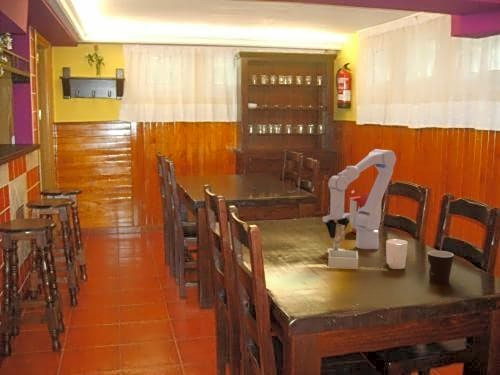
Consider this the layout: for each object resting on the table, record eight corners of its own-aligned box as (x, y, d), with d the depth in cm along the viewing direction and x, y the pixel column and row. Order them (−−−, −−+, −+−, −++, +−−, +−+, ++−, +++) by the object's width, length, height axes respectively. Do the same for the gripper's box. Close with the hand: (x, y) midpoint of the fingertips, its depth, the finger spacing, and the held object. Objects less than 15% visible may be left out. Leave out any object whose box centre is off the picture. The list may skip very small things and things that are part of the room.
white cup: (406, 265, 208) (408, 240, 206) (405, 270, 200) (407, 244, 199) (386, 263, 210) (387, 238, 209) (384, 268, 203) (385, 243, 202)
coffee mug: (449, 286, 182) (450, 258, 181) (423, 282, 187) (424, 254, 185) (456, 277, 192) (457, 250, 191) (431, 273, 197) (433, 247, 195)
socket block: (336, 238, 226) (337, 223, 225) (344, 240, 223) (344, 225, 222) (328, 239, 224) (329, 224, 223) (336, 242, 220) (336, 226, 219)
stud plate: (344, 251, 227) (344, 237, 226) (344, 256, 220) (344, 241, 219) (327, 251, 228) (328, 236, 227) (327, 255, 221) (327, 240, 220)
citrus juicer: (344, 235, 257) (345, 194, 254) (352, 228, 273) (353, 189, 270) (377, 238, 251) (379, 196, 248) (383, 230, 267) (384, 191, 264)
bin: (357, 260, 213) (357, 251, 213) (358, 268, 202) (358, 258, 202) (329, 259, 215) (329, 249, 215) (328, 267, 204) (328, 257, 204)
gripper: (331, 208, 214) (330, 241, 216) (356, 204, 222) (355, 236, 224) (319, 205, 219) (318, 237, 221) (344, 202, 228) (343, 233, 230)
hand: (336, 236), depth 223 cm, fingers closed on socket block, 5 cm apart
